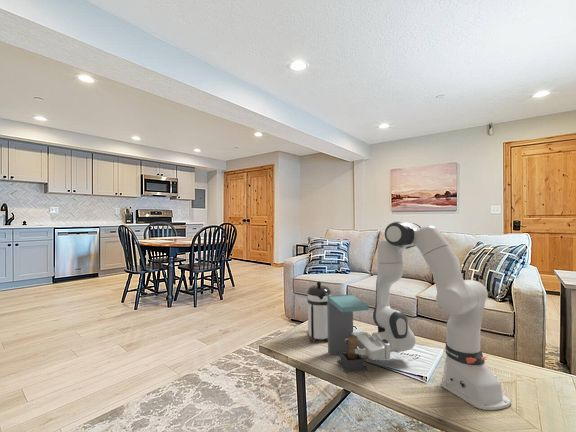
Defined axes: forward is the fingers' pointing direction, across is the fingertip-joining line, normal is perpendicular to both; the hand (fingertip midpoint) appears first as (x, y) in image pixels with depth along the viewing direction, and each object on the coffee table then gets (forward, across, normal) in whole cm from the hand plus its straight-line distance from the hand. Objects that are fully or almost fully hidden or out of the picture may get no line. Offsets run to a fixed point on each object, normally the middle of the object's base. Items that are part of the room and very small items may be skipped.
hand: (349, 346), depth 127 cm
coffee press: (+4, -32, +9) cm, 33 cm away
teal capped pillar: (-1, -5, +9) cm, 10 cm away
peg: (-1, 0, +8) cm, 8 cm away
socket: (-1, 0, +9) cm, 9 cm away
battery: (-31, -25, +9) cm, 41 cm away
